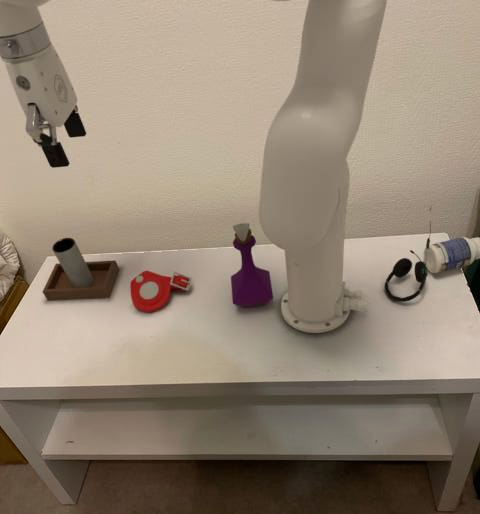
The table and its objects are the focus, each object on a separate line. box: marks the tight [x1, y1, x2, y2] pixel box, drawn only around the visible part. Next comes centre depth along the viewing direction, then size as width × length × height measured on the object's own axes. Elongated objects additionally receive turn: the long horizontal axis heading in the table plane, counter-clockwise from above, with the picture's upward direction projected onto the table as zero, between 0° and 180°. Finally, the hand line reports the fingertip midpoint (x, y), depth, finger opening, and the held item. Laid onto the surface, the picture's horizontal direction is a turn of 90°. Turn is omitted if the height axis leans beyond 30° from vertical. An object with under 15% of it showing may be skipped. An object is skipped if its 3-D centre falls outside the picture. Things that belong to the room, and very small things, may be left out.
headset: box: [384, 205, 432, 303], centre depth 86 cm, size 7×7×20 cm
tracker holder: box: [129, 270, 193, 313], centre depth 96 cm, size 12×4×10 cm
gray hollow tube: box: [52, 237, 94, 288], centre depth 98 cm, size 4×4×10 cm
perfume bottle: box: [230, 222, 274, 309], centre depth 86 cm, size 8×8×18 cm
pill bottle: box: [423, 236, 480, 274], centre depth 89 cm, size 5×5×10 cm
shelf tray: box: [42, 259, 120, 301], centre depth 101 cm, size 14×9×3 cm, turn 86°
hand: (69, 150), depth 82 cm, fingers open, 9 cm apart
